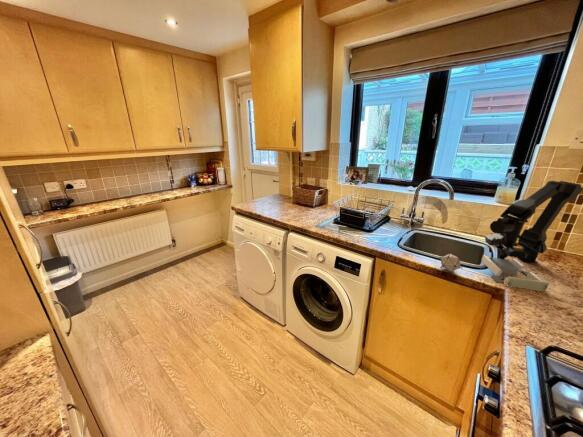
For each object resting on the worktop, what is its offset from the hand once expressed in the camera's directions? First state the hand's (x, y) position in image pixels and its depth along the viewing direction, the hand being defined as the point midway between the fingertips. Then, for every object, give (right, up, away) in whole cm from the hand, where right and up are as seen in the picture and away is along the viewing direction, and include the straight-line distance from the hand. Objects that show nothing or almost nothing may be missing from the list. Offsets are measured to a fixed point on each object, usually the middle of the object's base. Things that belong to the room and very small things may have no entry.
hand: (499, 260), depth 112 cm
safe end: (-4, -8, -16) cm, 18 cm away
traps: (-2, -5, -9) cm, 11 cm away
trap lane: (-2, -5, -7) cm, 9 cm away
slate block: (-2, -4, -3) cm, 5 cm away
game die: (-28, -3, -5) cm, 29 cm away
